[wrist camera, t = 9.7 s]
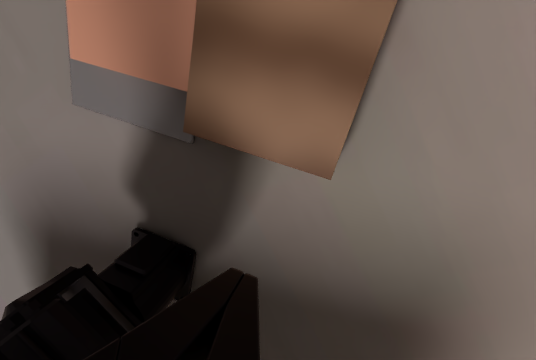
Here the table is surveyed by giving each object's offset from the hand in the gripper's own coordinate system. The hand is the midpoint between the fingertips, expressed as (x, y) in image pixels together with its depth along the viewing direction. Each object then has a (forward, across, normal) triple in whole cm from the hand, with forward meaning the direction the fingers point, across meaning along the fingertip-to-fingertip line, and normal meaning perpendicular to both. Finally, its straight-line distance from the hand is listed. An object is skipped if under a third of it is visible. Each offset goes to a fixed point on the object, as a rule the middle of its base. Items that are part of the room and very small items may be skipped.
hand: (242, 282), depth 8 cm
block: (+12, +13, -6) cm, 18 cm away
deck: (+12, +3, -6) cm, 14 cm away
